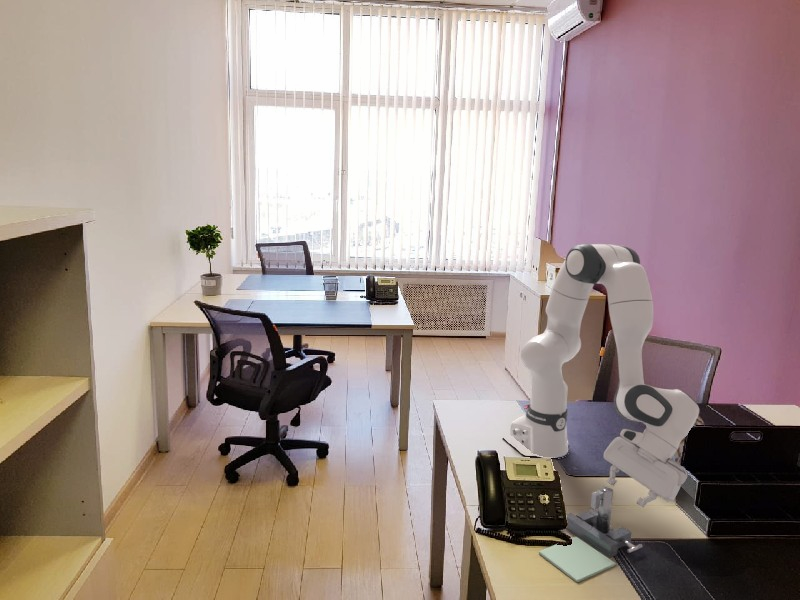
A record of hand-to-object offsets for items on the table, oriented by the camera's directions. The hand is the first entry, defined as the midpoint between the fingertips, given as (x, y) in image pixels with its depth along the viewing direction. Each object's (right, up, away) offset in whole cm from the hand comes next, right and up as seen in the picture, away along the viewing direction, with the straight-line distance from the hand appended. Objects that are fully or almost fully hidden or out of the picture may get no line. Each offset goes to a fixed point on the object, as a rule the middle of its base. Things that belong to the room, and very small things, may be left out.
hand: (624, 494), depth 157 cm
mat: (-16, -10, -15) cm, 24 cm away
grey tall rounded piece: (-7, -8, -5) cm, 12 cm away
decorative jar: (+28, 0, +36) cm, 45 cm away
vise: (-8, -9, -7) cm, 13 cm away
